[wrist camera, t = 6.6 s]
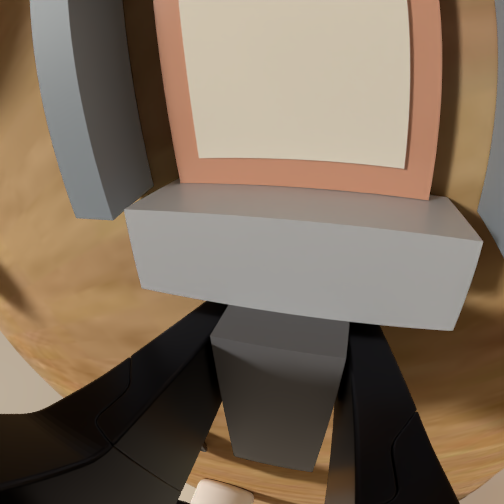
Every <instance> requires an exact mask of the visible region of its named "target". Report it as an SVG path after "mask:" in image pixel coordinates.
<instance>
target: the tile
mask: <svg viewBox="0 0 504 504" xmlns="http://www.w3.org/2000/svg"><path fill="white" fill-rule="evenodd" d="M153 4H154V14H155V23H156V32H157V40H158V48H159V56H160V63H161V71H162V78H163V85H164V91H165V98H166V104H167V111H168V117H169V123H170V129H171V135H172V140H173V146H174V152H175V157H176V162H177V168H178V173H179V178H180V183H211V184H245V185H267V186H285V187H301V188H315V189H328V190H340V191H351V192H361V193H371V194H380V195H389V196H398V197H406V198H414V199H421V200H429V195H430V189H431V183H432V177H433V171H434V164H435V157H436V149H437V141H438V132H439V121H440V108H441V90H442V33H441V16H440V4H439V0H153Z"/></svg>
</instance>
